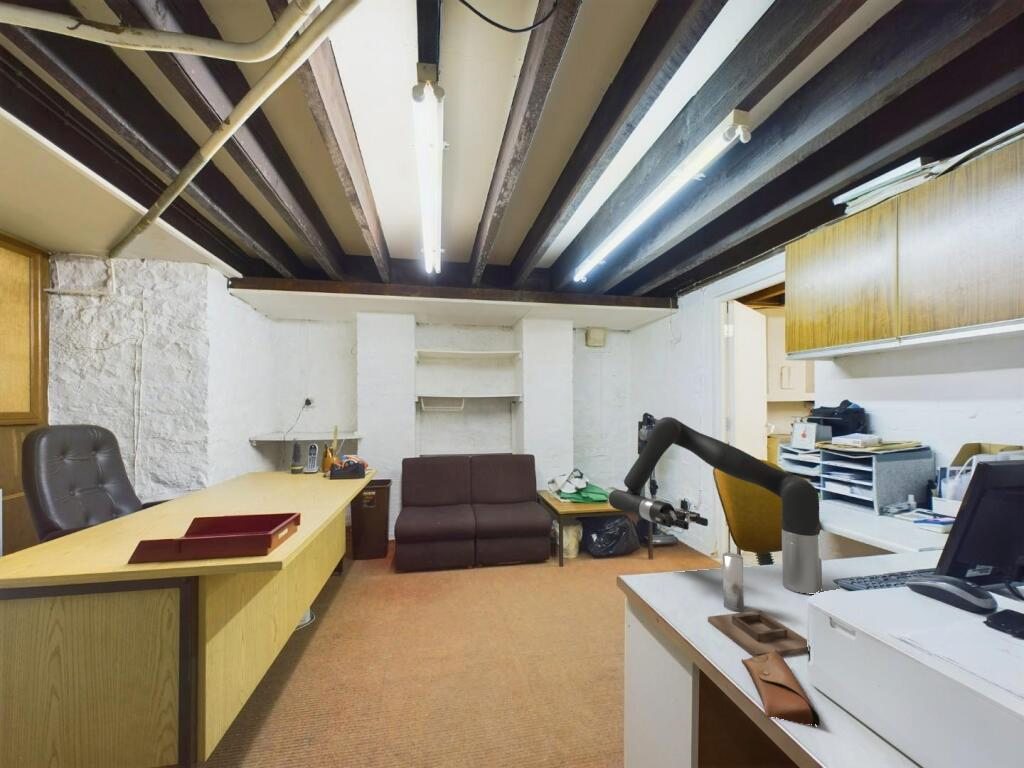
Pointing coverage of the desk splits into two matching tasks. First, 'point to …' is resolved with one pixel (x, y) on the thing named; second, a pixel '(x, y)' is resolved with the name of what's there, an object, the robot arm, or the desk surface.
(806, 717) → the sunglasses case
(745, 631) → the lamp base
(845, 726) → the desk surface
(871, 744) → the desk surface
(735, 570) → the column
